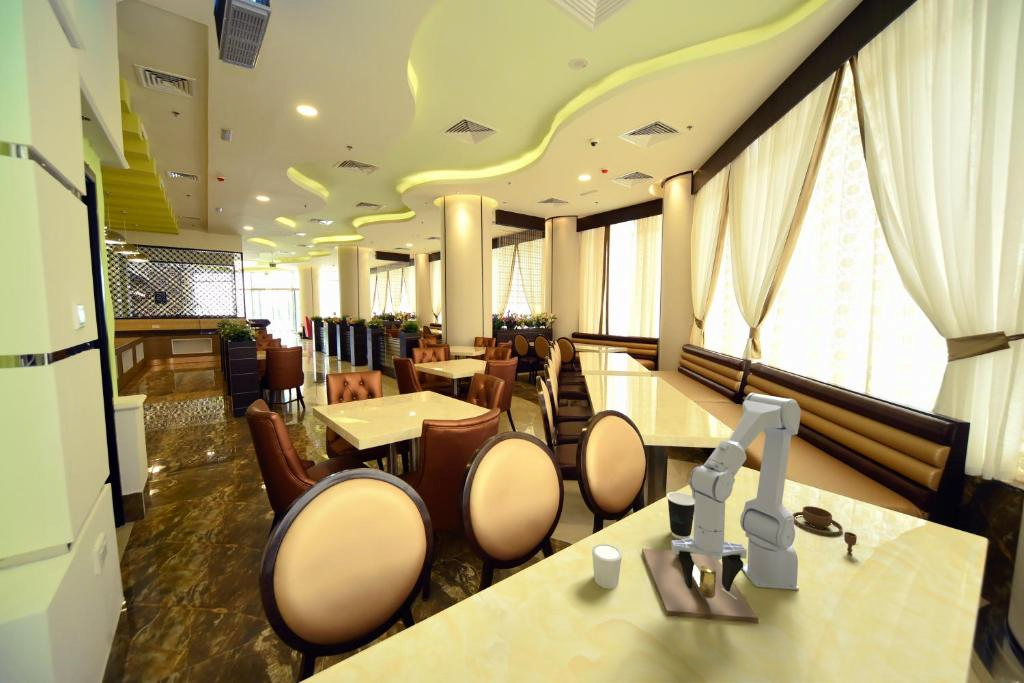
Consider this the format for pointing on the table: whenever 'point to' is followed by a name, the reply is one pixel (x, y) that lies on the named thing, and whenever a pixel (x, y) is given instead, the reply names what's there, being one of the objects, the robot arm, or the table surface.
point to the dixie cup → (681, 514)
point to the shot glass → (606, 565)
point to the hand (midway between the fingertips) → (707, 586)
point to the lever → (703, 580)
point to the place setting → (824, 524)
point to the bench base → (695, 590)
